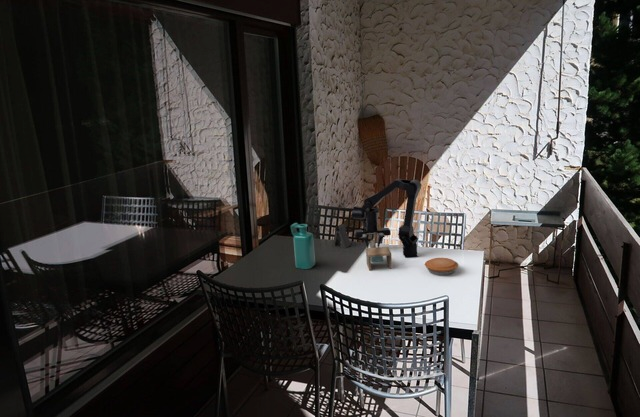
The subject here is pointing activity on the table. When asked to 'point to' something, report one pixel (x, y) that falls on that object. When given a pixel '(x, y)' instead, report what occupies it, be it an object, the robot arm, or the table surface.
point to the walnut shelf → (378, 252)
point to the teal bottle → (303, 247)
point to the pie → (441, 266)
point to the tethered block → (377, 258)
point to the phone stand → (341, 237)
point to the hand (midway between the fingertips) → (373, 247)
